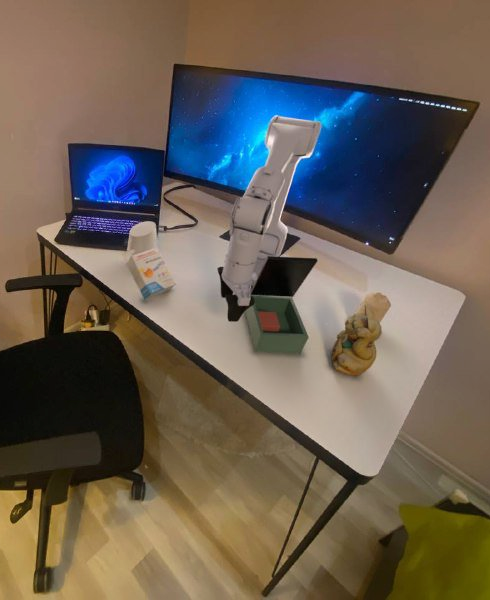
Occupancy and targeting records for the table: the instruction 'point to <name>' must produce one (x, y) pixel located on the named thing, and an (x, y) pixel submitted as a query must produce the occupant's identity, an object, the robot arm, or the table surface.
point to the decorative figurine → (356, 344)
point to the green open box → (290, 322)
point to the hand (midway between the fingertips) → (229, 308)
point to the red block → (269, 322)
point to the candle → (375, 305)
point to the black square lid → (282, 276)
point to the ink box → (149, 272)
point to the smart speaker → (142, 237)
